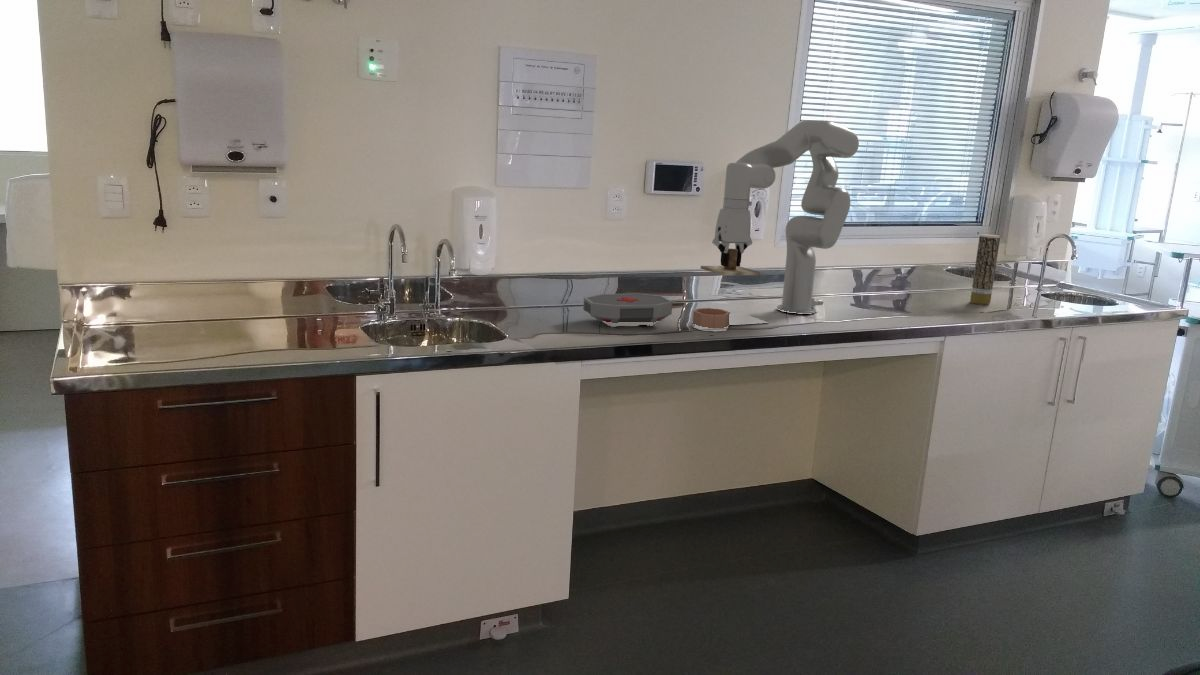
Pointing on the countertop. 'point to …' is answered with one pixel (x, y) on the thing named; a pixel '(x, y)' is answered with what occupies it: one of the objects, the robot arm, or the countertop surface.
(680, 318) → the countertop surface
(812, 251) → the robot arm
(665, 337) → the countertop surface
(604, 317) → the first aid kit
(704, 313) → the bowl
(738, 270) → the cover
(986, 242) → the bark textured cylinder
